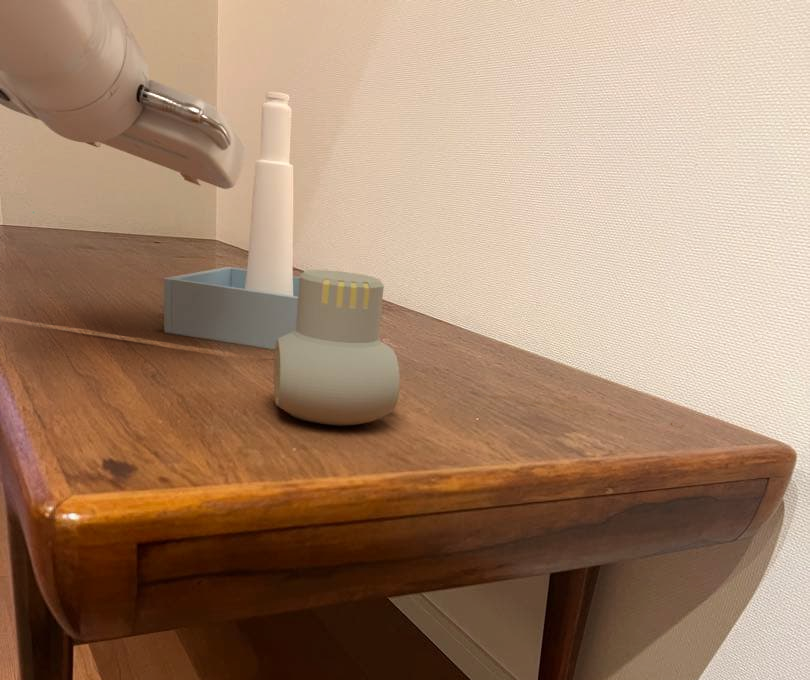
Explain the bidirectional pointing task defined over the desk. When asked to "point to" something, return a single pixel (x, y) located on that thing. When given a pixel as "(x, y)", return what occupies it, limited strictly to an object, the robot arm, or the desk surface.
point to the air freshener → (336, 353)
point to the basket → (227, 308)
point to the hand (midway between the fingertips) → (146, 155)
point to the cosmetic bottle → (272, 203)
